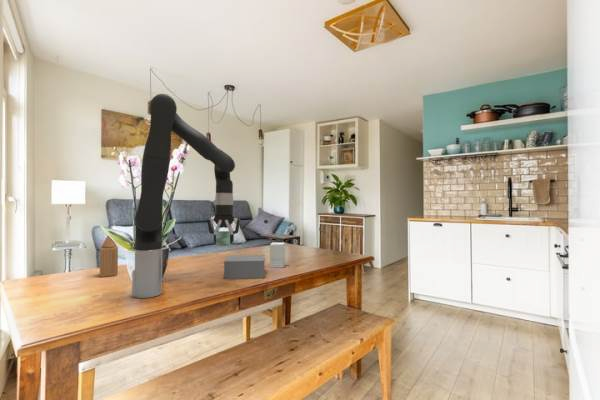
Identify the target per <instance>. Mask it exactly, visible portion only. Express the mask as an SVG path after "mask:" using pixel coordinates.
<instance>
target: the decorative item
mask: <svg viewBox="0 0 600 400" xmlns="http://www.w3.org/2000/svg"><path fill="white" fill-rule="evenodd" d="M113 240H114V239H113ZM113 240H112V239H111V238H110V237H109V236H108V235H107V236H106V238H105V239H104V242H103V243H102V244H101V248H100V249H99V277H100V278H106V277H107V278H108V276H109V277H116V276H117V275H118V273H119V272H118V269H119V268H118V267H119V264H118V262H119V261H118V260H119V258H118V257H119V254H118V253H119V249H118V247H119V246H118V245H117V243H116V242H115V241H113Z"/></svg>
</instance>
